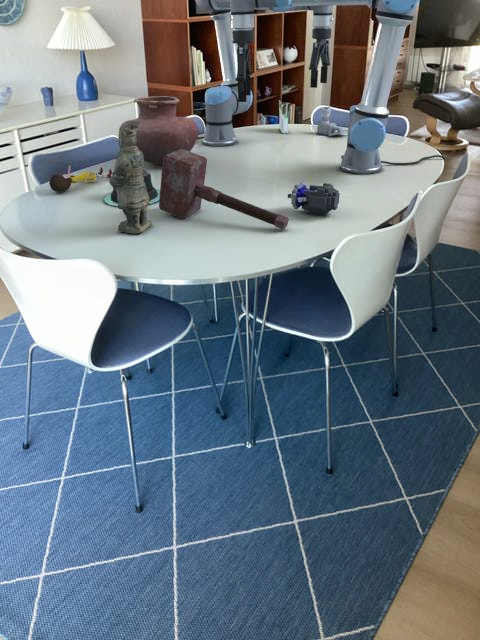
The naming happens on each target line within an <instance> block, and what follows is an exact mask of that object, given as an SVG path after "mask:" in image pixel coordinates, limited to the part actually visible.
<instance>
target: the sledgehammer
mask: <svg viewBox="0 0 480 640" xmlns="http://www.w3.org/2000/svg"><path fill="white" fill-rule="evenodd" d="M207 164H208V159H207V158H206V157H205V156H203V155H200V154H197V153H195V152H193V151H187V150H184V149H179V150H177V151H174V152H172V153H170V154H167V155H165V156H164V158H163V165H161V166H162V167H161V176H160V187H159V190H160V198H159V200H158V208H159V210H160V211H162V212H165V213H168V214H170V215H173V216H174V217H177V218H180V219H182V220H185V219H187V218H188V217H190V216H192V215H193V214H195V213H197V212H198V211H199V210H200V209H201V207H202V201H203V200H204V201H207V202H209V203H213V204H215V205H220V206H223V207H225V208H228V209H231V210H233V211H236V212H239V213H241V214H243V215H245V216H248V217H252V218H255V219H257V220H260V221H262V222H264V223H267V224H270V225H273V226H274V228H276V229H280V230H282V231H285V230H286V228H287V227H288V224H289V221H290V218H289V217H288V216H286V215H283V214H281V213H279V214H277V213H275V212H273V211H269V210H267V209H265V208H262V207H259V206H256V205H254V204H251V203H248V202H246V201H244V200H242V199H238V198H236V197H233V196H231V195H228V194H225V193H223V192H222V191H220V190H218V189H215V188H214V187H211V186H208V185H205V181H206V175H207Z"/></svg>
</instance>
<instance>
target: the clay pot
mask: <svg viewBox="0 0 480 640" xmlns="http://www.w3.org/2000/svg"><path fill="white" fill-rule="evenodd" d="M180 101H181V100H180V99H178V98H177V97H175V96H166V95H161V96H160V95H159V96H143V97H136V98H134V99H133V102H134V103H136V105H138V108H139V115H138V117H136V118H133V119H128V120H125V121H123V122H122V123H121V124H120V126H119V128H118V134H119V133H120V130H121V129H123V128H124V127H125V126H126V125H127V124H128V123H131V122H133V121H137V122H138V123H139V127H138V130H137V131H136V138H137V143H136V146H137V147H138V149H139V150H141V151H142V153H143V156H144V162H146V163H149V164H153V165H158V166H163V158H164V156H165V155H167V154H170V153H172V152H174V151H177V150H179V149H184V150H187V151H190V152H192V149H193V148H194V147H195V146H196V142H197V141H198V139H197V138H198V137H199V134H200V129H199V126H198V124H197V123H196V122H195V120H194V119H192V118H190V117H187V116H177V106H178V104H179V103H180Z"/></svg>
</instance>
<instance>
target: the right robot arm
mask: <svg viewBox="0 0 480 640" xmlns="http://www.w3.org/2000/svg"><path fill="white" fill-rule="evenodd" d="M419 2H420V0H230V7H231V18H230V19H229V21H230V22H232V23H231V28H232V29H233V31H232V32H231V35H232V43H235V44H237V45H238V47H237V78H235V81H238V102H247V98H246V96H248V95H251V92H252V90H251V87H252V86H251V76H252V75H253V71H252V69H251V55H250V54H251V49H250V44H252V43H254V42H255V30H254V28H255V11H254V10H255V9H254V8H274V7H279V8H282V7H288V6H326V5H333V6H367V7H368V8H369V9H376V12H375V18H376V20H377V23H378V25H377V29H376V34H375V37H374V38H375V39H374V43H373V48H372V50H371V51H372V52H371V55H370V61H369V65H368V69H367V74H366V79H365V83H364V87H363V92H362V96H361V100H360V102H359V103H358V104H357V105H356V104H355V105H351V106H350V107H349V112H348V126H347V130H348V132H347V138H346V139H347V140H346V149H345V151H344V154H343V155H341V156H340V157H341V158H340V160H341V162H340V170H341V171H343V172H345V173H349V174H355V175H356V174H357V175H369V174H370V175H371V174H376V173H378V172H380V171H382V164H386V165H392V166H393V165H394V166H408V165H417V164H419V163H421V162H422V161H423V160H424V161H425V160H429V159H432V158H433V159H434V158H441V159H442V160H443V161H445V160H446V157H445V156H443V155H441V154H434V155H429V156H424V157H421V158H420V159H419V160H417V161H410V162H393V161H392V162H391V161H387V160H381V155H380V150H379V148H380V147H381V146H382V145H383V143H384V141H385V139H386V136H387V134H386V133H387V131H386V128H387V123H388V119H389V116H390V111H389V108H388V107H387V105H388V102H389V97H390V93H391V88H392V85H393V81H394V77H395V73H396V69H397V65H398V61H399V57H400V53H401V49H402V45H403V41H404V37H405V32H406V29H407V27H408V26H409V25H411V24H412V23H413V21H414V17H415V13H416V9H417V6H418V4H419Z"/></svg>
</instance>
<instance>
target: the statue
mask: <svg viewBox="0 0 480 640" xmlns="http://www.w3.org/2000/svg"><path fill="white" fill-rule="evenodd" d="M138 127H139V123H138V122H137V121H133V122H131V123H128V124H127V125H126V126H125V127H124V128H123V129H121V130H120V133H119V132H118V139H117V141H118V146H119V152H118V154H117V156H116V160H115V164H114V169H113V172H114V175H113V176H112V175H111V178H108V179H109V180H108V183H109V184H110V186H111V187H112V188H113V187H114V188H115V189H116V192H117V202H118V206H117V209H119V210H122V213H123V214H124V215H125V218H126V219H125V220H122V221H120V222H119V224H118V225H117V231H118V232H121V233H126V234H134V235H136V234H142V233H143V232H145V231H146V230H147V229H148V228H150V227H151V226H152V225H153V223H152V220H150V219H148V216H147V214H148V213H147V212H148V211H147V209H148V206H149V205H150V197H149V195H148V192H147V188H146V184H145V182H144V178H143V169H144V165H145V161H144V156H143V153H142V151H141V150H139V149H138V147H137V146H136V143H137V138H136V131H137V130H138Z"/></svg>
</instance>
